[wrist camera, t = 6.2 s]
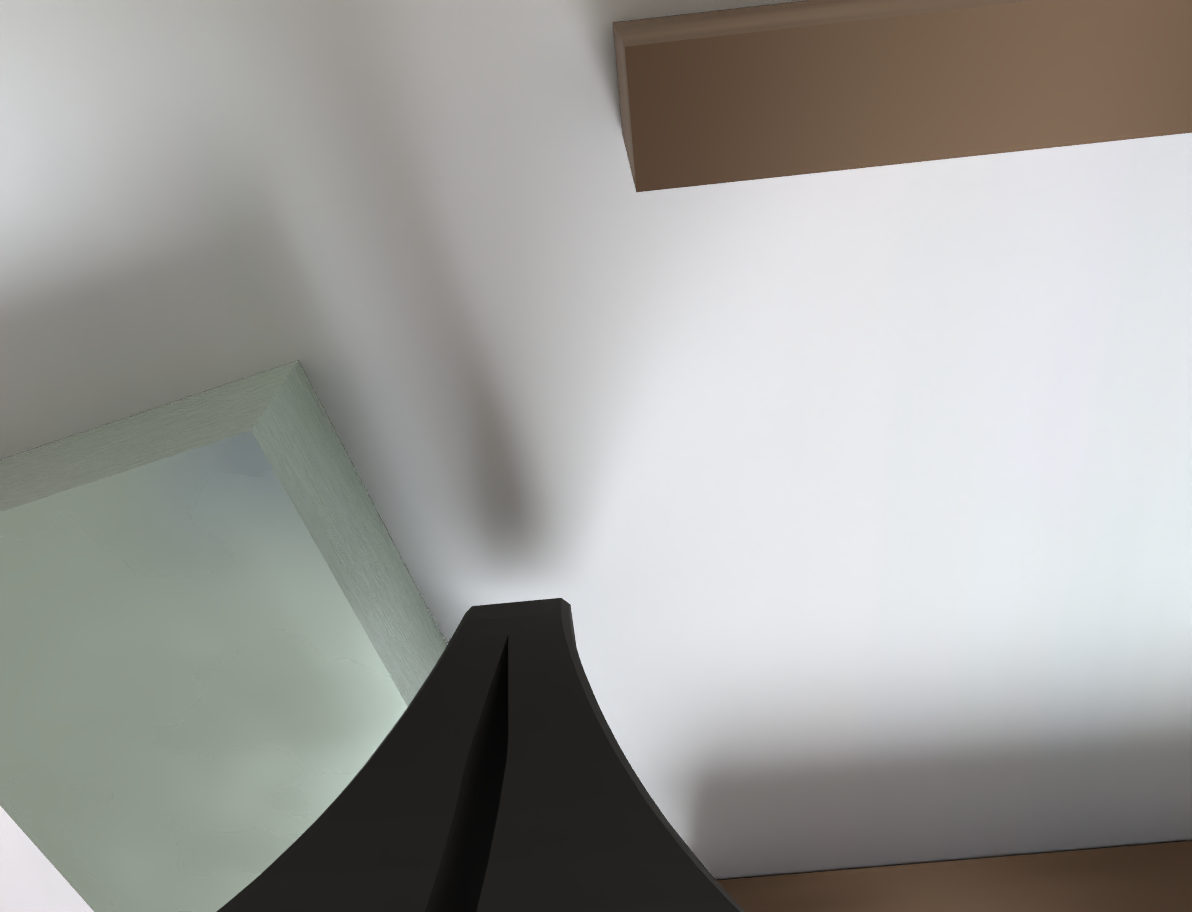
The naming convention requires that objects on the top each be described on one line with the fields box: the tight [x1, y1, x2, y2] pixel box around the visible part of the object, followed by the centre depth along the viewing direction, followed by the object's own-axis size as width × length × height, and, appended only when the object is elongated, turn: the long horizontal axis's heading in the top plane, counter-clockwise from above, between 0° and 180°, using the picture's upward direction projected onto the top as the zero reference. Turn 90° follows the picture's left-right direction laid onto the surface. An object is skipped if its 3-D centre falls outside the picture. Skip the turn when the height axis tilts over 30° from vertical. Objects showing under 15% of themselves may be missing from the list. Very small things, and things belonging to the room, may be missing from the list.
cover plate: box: [0, 360, 447, 912], centre depth 15 cm, size 6×11×2 cm, turn 19°
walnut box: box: [613, 0, 1192, 912], centre depth 13 cm, size 14×15×3 cm
